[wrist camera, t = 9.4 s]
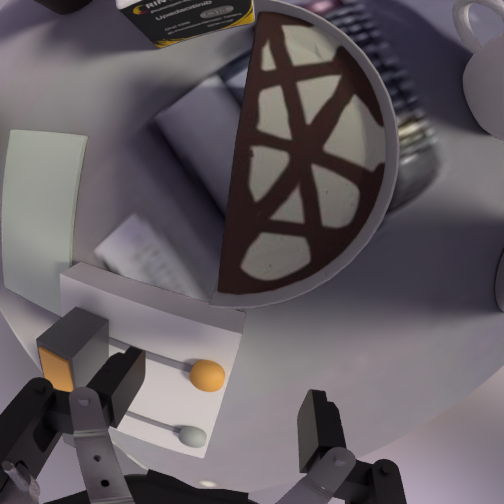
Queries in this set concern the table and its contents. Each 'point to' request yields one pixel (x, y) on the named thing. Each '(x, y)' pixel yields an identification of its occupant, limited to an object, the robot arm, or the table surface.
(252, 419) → the table surface
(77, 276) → the panel
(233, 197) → the food container
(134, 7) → the medicine bottle
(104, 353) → the toggle
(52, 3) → the vinegar
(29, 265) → the pad
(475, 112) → the mug
